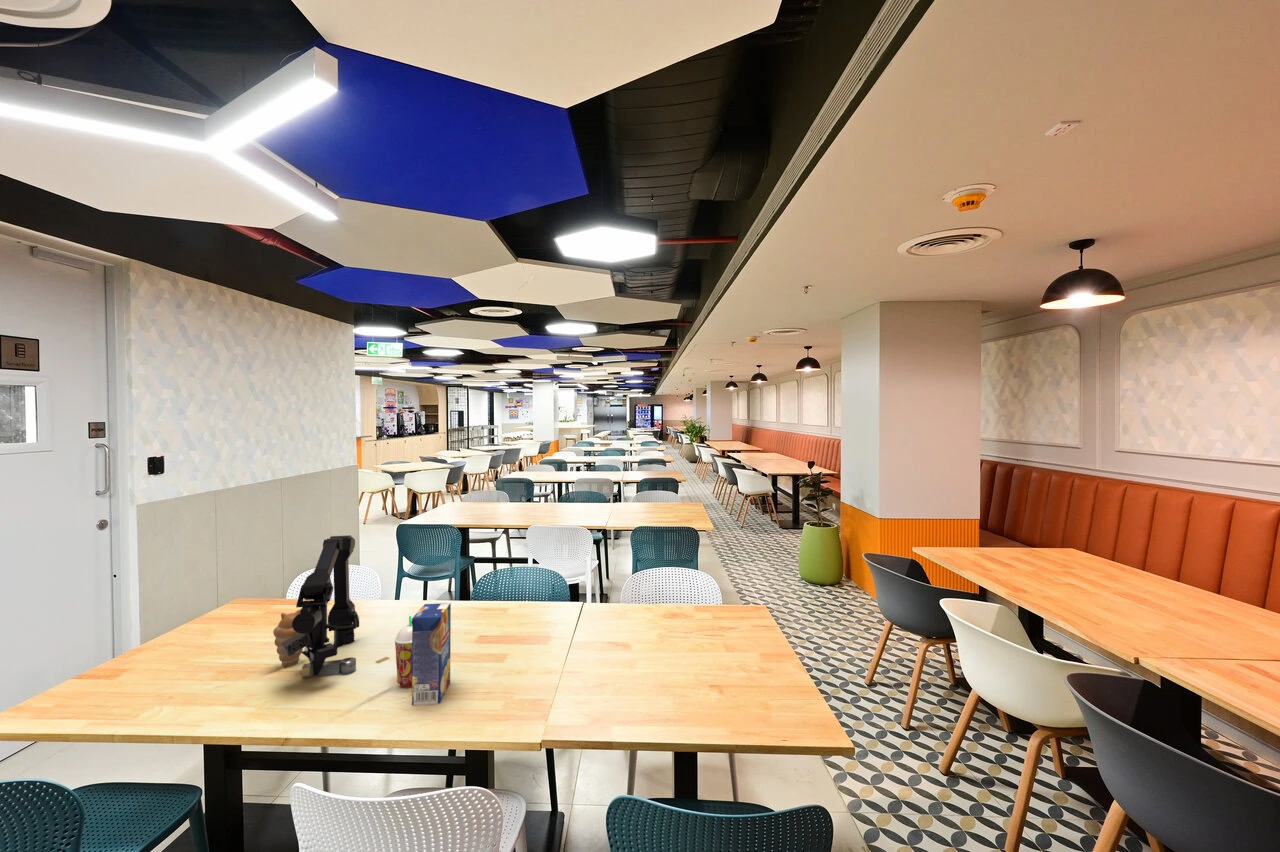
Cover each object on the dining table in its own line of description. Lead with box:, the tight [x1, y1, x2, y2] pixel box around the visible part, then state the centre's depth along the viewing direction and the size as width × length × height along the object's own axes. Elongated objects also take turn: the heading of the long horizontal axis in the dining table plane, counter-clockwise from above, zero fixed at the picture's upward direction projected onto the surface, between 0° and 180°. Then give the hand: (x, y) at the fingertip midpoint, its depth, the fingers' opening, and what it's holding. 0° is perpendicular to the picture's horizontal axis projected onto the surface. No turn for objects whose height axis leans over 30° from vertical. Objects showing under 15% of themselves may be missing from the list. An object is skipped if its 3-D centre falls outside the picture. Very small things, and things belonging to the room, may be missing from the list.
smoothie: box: [394, 615, 412, 688], centre depth 156 cm, size 8×8×20 cm
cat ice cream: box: [272, 609, 304, 669], centre depth 167 cm, size 9×8×18 cm
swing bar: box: [301, 656, 357, 680], centre depth 159 cm, size 14×4×3 cm, turn 106°
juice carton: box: [411, 602, 452, 706], centre depth 150 cm, size 12×8×24 cm, turn 7°
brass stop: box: [374, 656, 391, 664], centre depth 169 cm, size 2×4×1 cm, turn 155°
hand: (315, 675), depth 156 cm, fingers closed
